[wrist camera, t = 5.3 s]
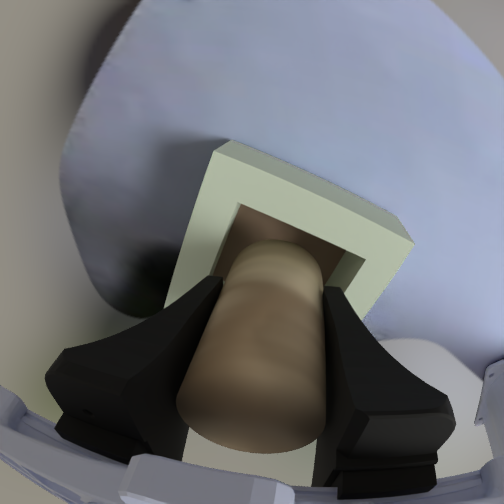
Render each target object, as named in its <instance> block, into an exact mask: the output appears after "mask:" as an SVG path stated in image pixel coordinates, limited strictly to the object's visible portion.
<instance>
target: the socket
mask: <svg viewBox="0 0 504 504" xmlns="http://www.w3.org/2000/svg"><path fill="white" fill-rule="evenodd" d="M271 239H277V240H285V241H289V242H292V243H295V244H297V245H299V246H301V247H302V248H304V249H305V250H307V251H308V252H309V253H310V254H311V255H312V256H313V257H314V258H315V260H316V261H317V263H318V265H319V267H320V270H321V273H322V281H323V289H324V286H334V287H340V288H341V289H342V290H343V292H344V294H345V296H346V298H347V299H348V301H349V303H350V304H351V306H352V307H353V309H354V311H355V312H356V314H357V315H358V316H359V318H360V319H361V321H362V319H363V318H364V317H365V315H366V314H367V313H368V311H369V310H370V309H371V307H372V306H373V305H374V303H375V302H376V301H377V299H378V298H379V296H380V295H381V294H382V292H383V291H384V289H385V288H386V287H387V285H388V284H389V282H390V281H391V279H392V278H393V276H394V275H395V274H396V272H397V271H398V269H399V268H400V266H401V265H402V263H403V262H404V260H405V259H406V257H407V256H408V254H409V252H410V251H411V249H412V248H413V246H414V245H415V243H414V242H413V240H412V239H411V237H410V235H409V234H408V232H407V231H406V229H405V228H404V226H403V225H402V223H401V222H400V220H399V219H398V217H397V216H395V215H393V214H392V213H390V212H388V211H386V210H384V209H382V208H380V207H378V206H376V205H375V204H373V203H371V202H369V201H367V200H365V199H363V198H361V197H359V196H357V195H355V194H353V193H351V192H349V191H347V190H345V189H343V188H341V187H339V186H337V185H335V184H333V183H330V182H328V181H326V180H324V179H322V178H320V177H318V176H316V175H313V174H311V173H309V172H307V171H305V170H303V169H300V168H298V167H296V166H294V165H291V164H289V163H287V162H284V161H282V160H280V159H278V158H275V157H273V156H271V155H268V154H266V153H263V152H261V151H259V150H256V149H254V148H251V147H249V146H246V145H244V144H241V143H239V142H236V141H234V140H230V141H229V142H227V143H225V144H224V145H222V146H221V147H219V148H217V149H216V150H214V151H213V154H212V157H211V159H210V162H209V165H208V168H207V171H206V174H205V177H204V179H203V182H202V185H201V188H200V191H199V194H198V197H197V200H196V203H195V206H194V209H193V212H192V215H191V218H190V222H189V225H188V228H187V231H186V234H185V237H184V241H183V244H182V247H181V250H180V254H179V257H178V260H177V264H176V267H175V271H174V274H173V277H172V281H171V284H170V288H169V292H168V295H167V299H166V302H165V306H164V308H166V307H167V306H169V305H170V304H172V303H173V302H174V301H176V300H177V299H179V298H180V297H181V296H182V295H184V294H185V293H186V292H188V291H189V290H190V289H191V288H193V287H194V286H195V285H196V284H197V283H199V282H200V281H201V280H202V279H204V278H205V277H206V276H208V275H210V276H220V277H223V285H224V283H225V281H226V278H227V276H228V274H229V271H230V269H231V267H232V264H233V262H234V260H235V259H236V257H237V256H238V254H239V253H240V252H241V251H242V250H244V249H245V248H246V247H248V246H249V245H251V244H254V243H256V242H259V241H263V240H271Z"/></svg>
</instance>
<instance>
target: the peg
mask: <svg viewBox="0 0 504 504" xmlns="http://www.w3.org/2000/svg"><path fill="white" fill-rule="evenodd" d="M176 406H177V410H178V412H179V414H180V416H181V418H182V419H183V420H184V422H185V423H186V424H187V425H188V426H189V427H190V428H192V429H193V430H194V431H195V432H196V433H198V434H199V435H201V436H203V437H204V438H206V439H208V440H210V441H212V442H214V443H216V444H219V445H221V446H224V447H227V448H230V449H234V450H238V451H243V452H250V453H262V454H266V453H267V454H271V453H282V452H288V451H292V450H296V449H299V448H302V447H304V446H306V445H308V444H310V443H311V442H313V441H314V440H316V439H317V438H318V437H319V436H320V435H321V433H322V432H323V430H324V427H325V423H326V354H325V325H324V312H323V281H322V273H321V270H320V267H319V265H318V263H317V261H316V260H315V258H314V257H313V256H312V255H311V254H310V253H309V252H308V251H307V250H305V249H304V248H302V247H301V246H299V245H297V244H295V243H292V242H289V241H285V240H277V239H271V240H263V241H259V242H256V243H254V244H251V245H249V246H248V247H246V248H245V249H244V250H242V251H241V252H240V253H239V254H238V256H237V257H236V259H235V260H234V262H233V264H232V267H231V269H230V271H229V274H228V276H227V278H226V281H225V283H224V285H223V288H222V290H221V292H220V295H219V297H218V299H217V302H216V304H215V306H214V309H213V311H212V313H211V316H210V318H209V320H208V323H207V325H206V327H205V330H204V332H203V335H202V337H201V339H200V342H199V344H198V346H197V349H196V351H195V354H194V356H193V358H192V361H191V363H190V365H189V368H188V370H187V373H186V375H185V377H184V380H183V382H182V385H181V387H180V389H179V392H178V394H177V398H176Z"/></svg>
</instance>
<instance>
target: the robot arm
mask: <svg viewBox="0 0 504 504" xmlns="http://www.w3.org/2000/svg"><path fill="white" fill-rule="evenodd" d="M222 288H223V277H220V276H210V275H208V276H206V277H205V278H204V279H202V280H201V281H200V282H199V283H197V284H196V285H195V286H194V287H193V288H191V289H190V290H189V291H188V292H186V293H185V294H184V295H182V296H181V297H180V298H179V299H177V300H176V301H174V302H173V303H172V304H170V305H169V306H167V307H166V308H164V309H163V310H161V311H160V312H158V313H157V314H155V315H154V316H152V317H150V318H149V319H147V320H145V321H143V322H141V323H139V324H138V325H136V326H133V327H131V328H129V329H127V330H125V331H122V332H120V333H118V334H115V335H113V336H110V337H107V338H105V339H102V340H98V341H95V342H92V343H88V344H84V345H80V346H76V347H72V348H67V349H64V350H63V351H62V353H61V354H60V355H59V356H58V358H57V360H55V362H54V363H53V364H52V366H51V367H50V368H49V370H48V371H47V372H46V374H45V382H46V385H47V387H48V389H49V391H50V393H51V394H52V396H53V397H54V399H55V400H56V402H57V403H58V405H59V406H60V408H61V409H62V411H63V412H64V413H63V415H62V416H61V418H60V419H59V421H58V423H57V424H55V423H53V422H51V421H50V420H47V419H45V418H43V417H42V416H39V415H38V414H36V413H34V412H32V411H30V410H28V409H27V407H26V405H25V404H24V402H23V401H22V400H21V399H20V398H19V397H18V396H17V395H16V394H14V393H13V392H11V391H9V390H7V389H6V388H4V387H2V386H1V385H0V459H1V460H2V461H4V462H5V463H6V464H8V465H9V466H10V467H12V468H13V469H15V470H16V471H18V472H19V473H21V474H22V475H23V476H25V477H26V478H28V479H29V480H31V481H32V482H34V483H35V484H37V485H39V486H40V487H42V488H43V489H45V490H46V491H48V492H50V493H51V494H53V495H54V496H56V497H58V498H60V499H61V500H63V501H65V502H67V503H68V504H504V359H503V360H500V361H498V362H496V363H493V364H491V365H489V366H488V367H487V368H486V371H485V377H484V382H483V387H482V392H481V397H480V401H479V405H478V410H477V414H476V418H475V421H474V424H475V426H479V425H482V424H484V425H485V428H486V432H487V435H488V438H489V442H490V446H491V449H492V453H493V457H494V459H492V460H490V461H489V462H487V463H486V464H485V465H484V466H483V467H482V468H481V469H480V470H477V471H473V472H469V473H465V474H460V475H455V476H450V477H445V478H439V479H436V473H435V466H434V464H436V463H437V462H438V456H437V450H438V449H439V448H440V447H441V446H442V445H443V444H444V443H445V441H446V440H447V439H448V438H449V437H450V435H451V434H452V432H453V431H454V429H455V426H456V421H455V417H454V413H453V410H452V407H451V404H450V401H449V399H448V396H447V395H446V394H444V393H442V392H440V391H439V390H437V389H435V388H434V387H432V386H430V385H429V384H427V383H425V382H424V381H422V380H421V379H420V378H418V377H417V376H415V375H414V374H412V373H411V372H410V371H409V370H407V369H406V368H405V367H404V366H402V365H401V364H400V363H399V362H398V361H397V360H396V359H394V358H393V357H392V356H391V355H390V354H389V353H388V352H387V351H386V350H385V349H384V348H383V347H382V346H381V345H380V344H379V343H378V341H377V340H376V339H375V338H374V337H373V335H372V334H371V333H370V332H369V330H368V329H367V328H366V326H365V325H364V324H363V322H362V321H361V319H360V318H359V316H358V315H357V314H356V312H355V311H354V309H353V307H352V306H351V304H350V303H349V301H348V299H347V298H346V296H345V294H344V292H343V290H342V289H341V288H340V287H334V286H324V289H323V312H324V325H325V354H326V423H325V427H324V430H323V432H322V433H321V435H320V436H319V437H318V438H317V445H316V455H315V463H314V471H313V478H312V485H311V487H305V486H304V487H303V486H289V485H288V484H285V483H283V482H281V481H278V480H276V479H272V478H267V477H262V476H257V475H250V474H243V473H236V472H230V471H224V470H218V469H214V468H208V467H203V466H199V465H194V464H189V463H185V462H182V457H183V452H184V447H185V443H186V438H187V434H188V430H189V426H188V425H187V424H186V423H185V422H184V420H183V419H182V418H181V416H180V414H179V412H178V410H177V406H176V398H177V394H178V392H179V389H180V387H181V385H182V382H183V380H184V377H185V375H186V373H187V370H188V368H189V365H190V363H191V361H192V358H193V356H194V354H195V351H196V349H197V346H198V344H199V342H200V339H201V337H202V335H203V332H204V330H205V327H206V325H207V323H208V320H209V318H210V316H211V313H212V311H213V309H214V306H215V304H216V302H217V299H218V297H219V295H220V292H221V290H222Z"/></svg>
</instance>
